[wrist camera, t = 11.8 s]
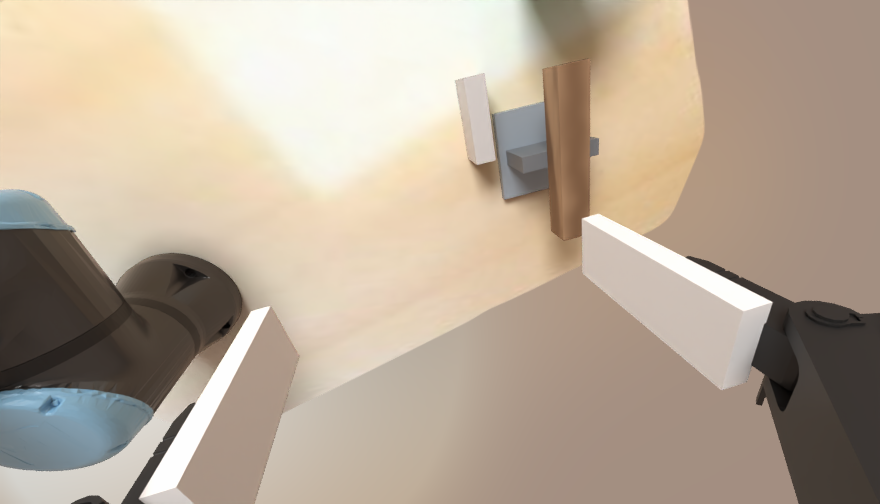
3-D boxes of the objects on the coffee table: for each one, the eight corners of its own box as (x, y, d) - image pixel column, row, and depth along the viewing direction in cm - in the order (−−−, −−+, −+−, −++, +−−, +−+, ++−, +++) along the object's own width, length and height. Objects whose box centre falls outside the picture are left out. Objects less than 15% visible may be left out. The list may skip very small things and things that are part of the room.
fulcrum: (502, 197, 49) (519, 212, 42) (492, 114, 43) (509, 116, 37) (577, 178, 49) (604, 190, 43) (576, 93, 44) (607, 92, 38)
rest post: (468, 158, 45) (477, 164, 41) (455, 80, 41) (463, 78, 36) (485, 154, 45) (495, 160, 41) (473, 76, 41) (484, 73, 36)
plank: (551, 230, 44) (563, 240, 41) (542, 69, 35) (557, 66, 32) (575, 224, 45) (589, 234, 41) (572, 61, 36) (590, 58, 32)
